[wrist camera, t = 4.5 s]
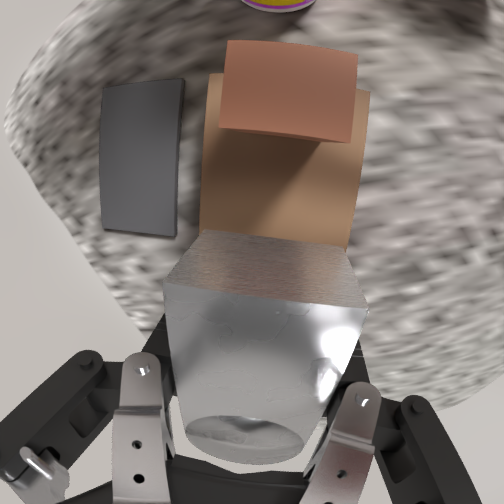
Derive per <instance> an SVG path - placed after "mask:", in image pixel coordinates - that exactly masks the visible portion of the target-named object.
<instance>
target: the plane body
mask: <svg viewBox="0 0 504 504" xmlns="http://www.w3.org/2000/svg"><path fill="white" fill-rule="evenodd" d="M357 63H358V55H357V54H353V53H348V52H343V51H339V50H333V49H328V48H322V47H316V46H309V45H302V44H294V43H284V42H272V41H255V40H228V42H227V50H226V58H225V67H224V73H210V74H209V83H208V93H207V103H206V114H205V126H204V139H203V154H202V171H201V192H200V219H199V235H200V234H201V233H202V232H203V230H204V229H207V230H215V231H224V232H232V233H240V234H249V235H257V236H265V237H273V238H281V239H288V240H296V241H304V242H311V243H319V244H326V245H334V246H341V247H343V249H344V251H345V253H346V249H347V244H348V240H349V235H350V231H351V226H352V221H353V216H354V211H355V205H356V200H357V194H358V188H359V182H360V176H361V170H362V163H363V156H364V149H365V141H366V132H367V123H368V113H369V102H370V92H369V91H364V90H360V89H356V80H357Z"/></svg>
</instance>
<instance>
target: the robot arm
mask: <svg viewBox="0 0 504 504" xmlns="http://www.w3.org/2000/svg"><path fill="white" fill-rule="evenodd" d="M173 395H174V396H177V390H176V385H175V379H174V373H173V367H172V361H171V354H170V347H169V340H168V332H167V324H166V316H165V313H164V315H163V316H162V318H161V320H160V321H159V323H158V324H157V326H156V329H154V331H153V333H152V334H151V336H150V338H149V339H148V341H147V343H146V344H145V346H144V347H143V349H142V351H141V352H139V353H135V354H132V355H130V356H129V357H127V358H126V360H125V361H124V362H105V361H103V359H102V356H101V355H100V354H99V353H98V352H96V351H92V350H84V351H80V352H78V353H77V354H75V355H74V356H73V357H72V358H70V359H69V360H68V361H67V362H66V363H65V364H64V365H62V366H61V367H60V368H59V369H58V370H57V371H56V372H54V373H53V374H52V375H51V376H50V377H49V378H48V379H47V380H45V381H44V382H43V383H42V384H41V385H40V386H39V387H38V388H37V389H36V390H34V391H33V392H32V393H31V394H30V395H29V396H28V397H27V398H26V399H25V400H23V401H22V402H21V403H20V404H19V405H18V406H17V407H16V408H15V409H14V410H13V411H12V412H11V413H10V414H9V415H7V417H5V418H4V419H3V420H2V421H1V422H0V479H2V480H3V481H5V482H6V483H7V484H9V486H10V487H11V488H12V489H13V491H14V492H15V493H16V494H17V495H18V496H19V497H20V499H21V500H22V501H23V502H24V503H25V504H357V503H358V501H359V498H360V495H361V493H362V490H363V487H364V484H365V481H366V478H367V475H368V472H369V469H370V465H371V462H372V459H373V455H374V456H375V459H376V461H377V464H378V466H379V469H380V471H381V474H382V476H383V479H384V482H385V484H386V487H387V490H388V492H389V495H390V498H391V501H392V503H393V504H482V503H481V500H480V498H479V496H478V494H477V491H476V489H475V487H474V485H473V483H472V481H471V479H470V476H469V474H468V472H467V470H466V468H465V466H464V464H463V462H462V460H461V458H460V456H459V455H458V453H457V451H456V449H455V447H454V445H453V443H452V441H451V440H450V438H449V436H448V434H447V432H446V431H445V429H444V427H443V425H442V423H441V422H440V420H439V418H438V416H437V415H436V413H435V411H434V410H433V408H432V406H431V405H430V403H429V402H428V401H427V400H426V399H425V398H423V397H421V396H418V395H410V396H408V397H406V398H405V399H404V400H403V401H402V402H398V401H394V400H390V399H386V398H383V397H381V394H380V392H379V390H378V389H377V388H376V387H375V386H373V385H371V384H370V381H369V377H368V373H367V369H366V365H365V361H364V357H363V353H362V350H361V346H360V342H359V339H358V340H357V343H356V345H355V347H354V350H353V352H352V354H351V357H350V359H349V361H348V364H347V366H346V368H345V370H344V372H343V375H342V377H341V379H340V381H339V383H338V385H337V387H336V389H335V391H334V393H333V395H332V397H331V399H330V401H329V403H328V405H327V407H326V409H325V411H324V413H323V415H322V417H327V425H326V426H325V428H324V430H323V433H322V435H321V437H320V440H319V442H318V444H317V446H316V448H315V451H314V453H313V455H312V457H311V459H310V461H309V463H308V465H307V467H306V468H305V470H304V471H303V472H283V471H267V472H257V473H247V474H236V473H233V472H230V471H228V470H225V469H223V468H220V467H218V466H216V465H213V464H211V463H209V462H206V461H202V460H198V459H194V458H189V457H185V456H181V455H178V454H176V452H175V448H174V442H173V434H172V425H171V415H170V406H169V403H170V401H171V398H172V396H173ZM112 419H113V430H112V431H113V432H112V480H111V481H109V482H107V483H105V484H103V485H100V486H98V487H96V488H94V489H91V490H89V491H87V492H85V493H82V494H80V495H77V496H75V497H72V498H70V499H67V500H65V497H64V493H65V489H67V488H68V487H69V473H68V471H67V470H68V469H69V468H70V467H71V466H72V465H73V463H74V462H75V461H76V460H77V459H78V458H79V457H80V455H81V454H82V453H83V452H84V451H85V450H86V449H87V447H88V446H89V445H90V444H91V443H92V441H94V439H95V438H96V437H97V436H98V435H99V434H100V432H101V431H102V430H103V429H104V428H105V427H106V426H107V424H108V423H109V422H110V421H111V420H112Z"/></svg>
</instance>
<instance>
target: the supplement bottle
mask: <svg viewBox="0 0 504 504" xmlns="http://www.w3.org/2000/svg"><path fill="white" fill-rule="evenodd" d="M241 1H243V2H244V3H245V4H247V5H249V6H251V7H253V8H256V9H259V10H262V11H267V12H291V11H296V10H299V9H302V8H305V7H307V6H308V5H310V4H312V3H313V2H314V1H315V0H241Z"/></svg>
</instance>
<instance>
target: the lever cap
mask: <svg viewBox="0 0 504 504" xmlns="http://www.w3.org/2000/svg"><path fill="white" fill-rule="evenodd" d="M162 285H163V296H164V306H165V316H166V324H167V332H168V340H169V347H170V354H171V361H172V367H173V373H174V379H175V385H176V390H177V396H178V401H179V406H180V411H181V416H182V420H183V425H184V430H185V433H186V436H187V438H188V440H189V441H190V442H191V443H192V444H193V445H194V446H196V447H197V448H198V449H200V450H202V451H203V452H205V453H207V454H209V455H211V456H214V457H216V458H220V459H223V460H226V461H230V462H235V463H241V464H252V465H261V464H262V465H263V464H273V463H279V462H282V461H286V460H289V459H291V458H293V457H295V456H297V455H298V454H299V453H300V452H301V451H302V450H303V448H304V446H305V445H306V443H307V441H308V440H309V438H310V436H311V435H312V433H313V431H314V429H315V428H316V426H317V424H318V422H319V420H320V418H321V417H322V415H323V413H324V411H325V409H326V407H327V405H328V403H329V401H330V399H331V397H332V395H333V393H334V391H335V389H336V387H337V385H338V383H339V381H340V379H341V377H342V375H343V372H344V370H345V368H346V366H347V364H348V361H349V359H350V357H351V354H352V352H353V350H354V347H355V345H356V343H357V340H358V338H359V335H360V333H361V330H362V328H363V325H364V322H365V320H366V317H367V314H368V312H369V307H368V304H367V302H366V299H365V297H364V295H363V292H362V290H361V287H360V285H359V283H358V280H357V278H356V276H355V273H354V271H353V269H352V267H351V264H350V262H349V260H348V258H347V255H346V253H345V251H344V249H343V247H341V246H334V245H326V244H319V243H311V242H304V241H296V240H288V239H281V238H273V237H265V236H257V235H249V234H240V233H232V232H224V231H215V230H207V229H204V230H203V232H202V233H201V234H200V235H199V236H198V238H197V239H196V240H195V241H194V243H193V244H192V245H191V246H190V248H189V249H188V250H187V251H186V253H185V254H184V255H183V256H182V258H181V259H180V260H179V261H178V263H177V264H176V265H175V266H174V268H173V269H172V270H171V271H170V273H169V274H168V275H167V277H166V278H165V279H164V281H163V282H162Z"/></svg>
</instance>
